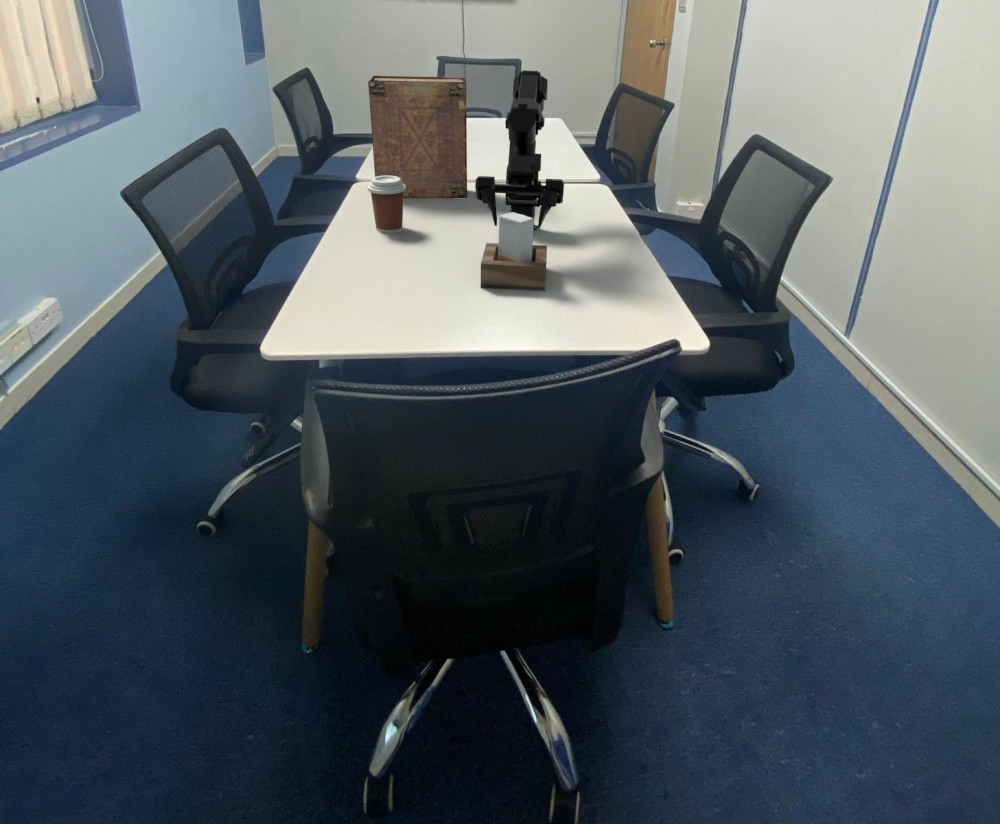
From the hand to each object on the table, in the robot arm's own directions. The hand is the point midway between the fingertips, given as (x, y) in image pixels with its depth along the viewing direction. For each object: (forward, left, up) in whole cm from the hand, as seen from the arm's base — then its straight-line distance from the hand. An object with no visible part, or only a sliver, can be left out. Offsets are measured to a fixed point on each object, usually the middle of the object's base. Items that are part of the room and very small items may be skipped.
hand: (517, 226), depth 152 cm
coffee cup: (-3, -39, -9) cm, 40 cm away
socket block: (+6, +4, -9) cm, 11 cm away
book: (-33, -53, -9) cm, 63 cm away
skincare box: (+6, +3, -8) cm, 11 cm away
